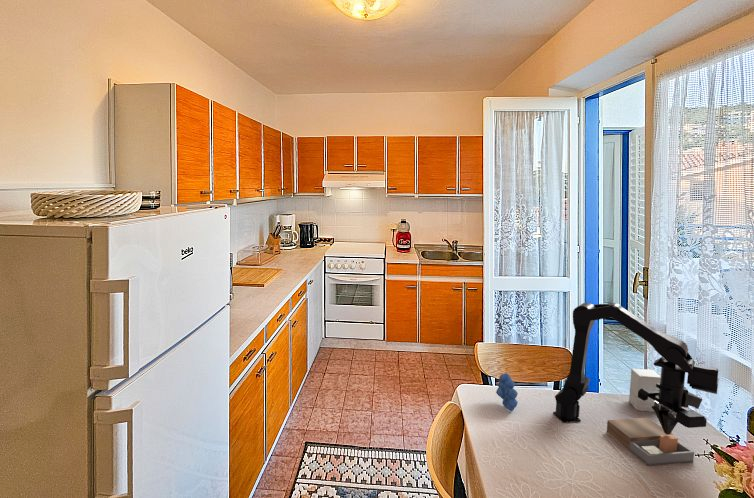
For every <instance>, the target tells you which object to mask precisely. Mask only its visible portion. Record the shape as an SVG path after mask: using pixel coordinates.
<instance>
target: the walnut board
mask: <svg viewBox="0 0 754 498" xmlns="http://www.w3.org/2000/svg"><path fill="white" fill-rule="evenodd" d="M606 434H608V435H610V436H611V437H612V438H613V439H615V441H617V442H618V443H619V444H620V445H622V446H623V447H624V448H626V450H627V451H629V449H630V441H639V440H652V439H660V436H661V435H667V434H665V433H664V430H663V428H662V426H661V424H658V423H657V422H655V421H653V420H652V419H651V418H649V417H638V418H636V417H635V418H625V419H624V418H622V419H609V420H607V423H606ZM670 435H674V434H673V433H672V432H671V434H670Z"/></svg>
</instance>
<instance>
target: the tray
mask: <svg viewBox="0 0 754 498" xmlns="http://www.w3.org/2000/svg"><path fill="white" fill-rule="evenodd" d="M659 443H660V439H652V440H639V441H630V449H629V450H628V451H629V452H630V453H631V454H632V455H634V456H635V457H636V458H638V459H639V460H640V461H641V462H642V463H644V464H645V465H647V467H650V466H651V467H652V466H664V465H665V466H666V465H675V464H686V463H694V460H695V459H694V458H695V451H693V450H692V449H690V448H689V447H688V446H686V445H684V444H683V443H681V442H680V441H678V444H677V451H674V452H663V451H662V450H661V449H659ZM641 446H655V447H656V448H658V449H659V450H660V451H662V452H663V453H661V454H648V453H647V452H646V451H644V450H643V449H642V448H641Z"/></svg>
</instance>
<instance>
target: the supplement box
mask: <svg viewBox="0 0 754 498" xmlns="http://www.w3.org/2000/svg"><path fill="white" fill-rule="evenodd" d="M660 378H661V375H659V374H658V373H657V372H656V371H655V370H654V369H648V368H647V369H645V368H643V369H642V368H631V371H630V380H629V381H630V382H629V395H628V396H629V397H628V401H629V403H630V404H631V405H632V406H633V407H634V408H635V410H636V411H643V412H652V413H653V412H654V410H653V409H652V406H654V402H653V399H651V398H649V397H648V400H646V401H643V400H642V399H640V398H638V391H639V390H640V389H641V388H655V389H657V390H659V388H657V387H656V383H660ZM654 413H655V412H654Z"/></svg>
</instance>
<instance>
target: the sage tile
mask: <svg viewBox="0 0 754 498" xmlns="http://www.w3.org/2000/svg"><path fill="white" fill-rule="evenodd" d="M641 448H642V449H643V450H644V451H646V452H647V453H648V454H661V453H663V452H662V451H660V450H659V449H658V448H656V447H655V446H641Z"/></svg>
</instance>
